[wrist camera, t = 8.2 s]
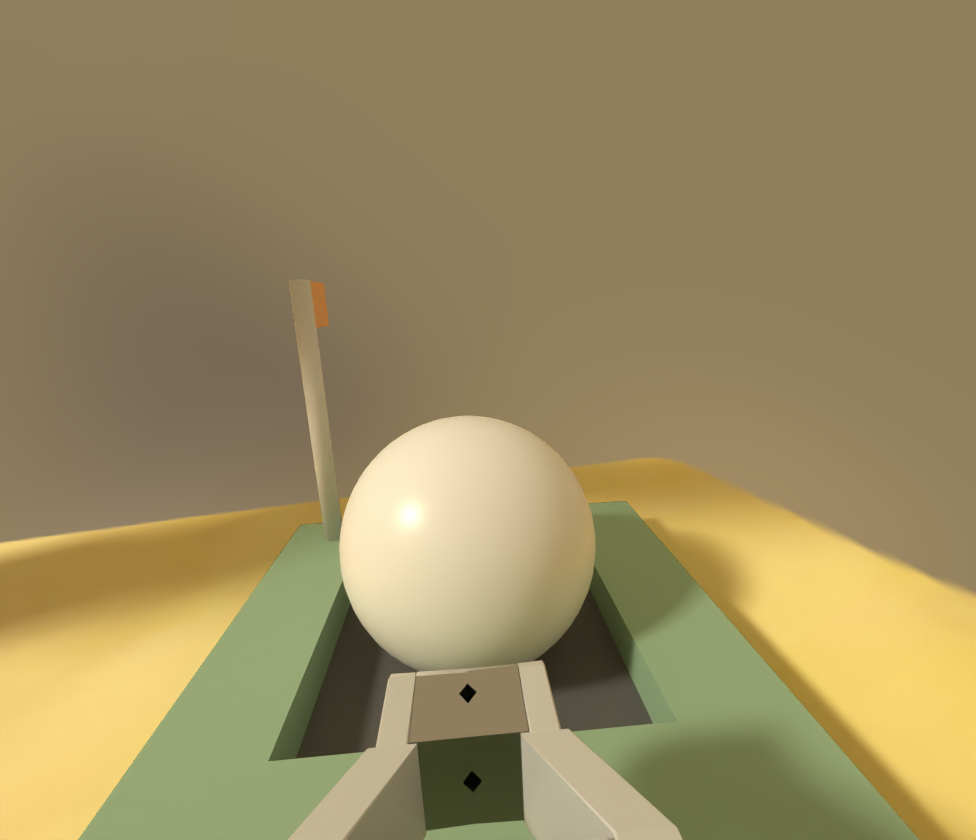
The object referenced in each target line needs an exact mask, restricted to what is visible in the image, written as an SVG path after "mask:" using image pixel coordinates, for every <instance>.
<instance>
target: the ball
mask: <svg viewBox="0 0 976 840" xmlns="http://www.w3.org/2000/svg"><path fill="white" fill-rule="evenodd" d="M339 552H340V565H341V574H342V578H343V583H344V587H345V590H346V592H347V595H348V598H349V600H350V603H351V605H352V608H353V610H354V612H355V614H356V615H357V617H358V619H359V620H360V622H361V624H362V625H363V626H364V628H365V629H366V630H367V631H368V633H369V634H370V635H371V636H372V637H373V639H374V640H375V641H376V642H377V643H378V644H379V645H380V646H381V647H382V648H383V649H384V650H386V651H387V652H388V653H389V654H390V655H392V656H393V657H395V658H396V659H398V660H399V661H401V662H403V663H404V664H406V665H408V666H409V667H412V668H414V669H416V670H418V671H437V670H452V669H468V668H478V667H489V666H499V665H509V664H517V663H523V662H532V661H534V660H535V659H537V658H538V657H540V656H541V655H543V654H544V653H545V652H546V651H547V650H548V649H549V648H551V647H552V646H553V645H554V644H555V643H556V642H557V641H558V640H559V639H560V638H561V637H562V636H563V634H564V633H565V632H566V631H567V630H568V628H569V627H570V626H571V624H572V623H573V621H574V620H575V618H576V616H577V615H578V613H579V611H580V609H581V607H582V605H583V602H584V600H585V598H586V595H587V593H588V591H589V587H590V584H591V580H592V576H593V570H594V562H595V553H596V544H595V530H594V524H593V518H592V513H591V510H590V507H589V504H588V501H587V498H586V496H585V493H584V491H583V489H582V487H581V485H580V483H579V481H578V479H577V477H576V476H575V475H574V473H573V472H572V470H571V469H570V467H569V466H568V465H567V463H566V462H565V461H564V460H563V459H562V457H561V456H560V455H559V454H558V453H557V452H556V451H555V450H554V449H553V448H551V447H550V446H549V445H548V444H547V443H545V442H544V441H543V440H541V439H540V438H539V437H537V436H536V435H534V434H533V433H531V432H529V431H527V430H525V429H523V428H521V427H519V426H516V425H514V424H511V423H508V422H505V421H502V420H498V419H494V418H488V417H482V416H456V417H448V418H443V419H439V420H435V421H432V422H429V423H426V424H423V425H421V426H419V427H416V428H414V429H412V430H411V431H409V432H407V433H405V434H403V435H402V436H400V437H399V438H397V439H396V440H394V441H393V442H391V443H390V444H389V445H388V446H387V447H385V448H384V449H383V450H382V451H381V452H380V453H379V454H378V455H377V456H376V457H375V458H374V459H373V461H372V462H371V463H370V464H369V465H368V467H367V468H366V469H365V471H364V472H363V473H362V475H361V476H360V478H359V480H358V482H357V483H356V485H355V487H354V489H353V491H352V493H351V496H350V498H349V501H348V503H347V506H346V508H345V512H344V516H343V521H342V526H341V532H340V543H339Z"/></svg>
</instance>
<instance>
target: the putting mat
mask: <svg viewBox="0 0 976 840" xmlns="http://www.w3.org/2000/svg"><path fill="white" fill-rule="evenodd" d="M289 287H290V294H291V300H292V309H293V316H294V323H295V330H296V337H297V344H298V350H299V358H300V365H301V372H302V378H303V386H304V393H305V400H306V408H307V415H308V421H309V429H310V436H311V442H312V450H313V457H314V464H315V471H316V478H317V485H318V492H319V499H320V507H321V514H322V521H323V523H317V524H304V525H300V526H299V527H298V529H297V530H296V532H295V533H294V535H293V536H292V537H291V539H290V540H289V542H288V543H287V544H286V546H285V547H284V549H283V550H282V552H281V553H280V554H279V556H278V557H277V559H276V560H275V562H274V563H273V564H272V566H271V567H270V569H269V570H268V571H267V573H266V574H265V576H264V577H263V579H262V580H261V581H260V583H259V584H258V586H257V587H256V588H255V590H254V591H253V593H252V594H251V596H250V597H249V598H248V600H247V601H246V603H245V604H244V605H243V607H242V608H241V610H240V611H239V613H238V614H237V615H236V617H235V618H234V620H233V621H232V622H231V624H230V625H229V627H228V628H227V630H226V631H225V632H224V634H223V635H222V637H221V638H220V639H219V641H218V642H217V644H216V645H215V647H214V648H213V649H212V651H211V652H210V654H209V655H208V656H207V658H206V659H205V661H204V662H203V664H202V665H201V666H200V668H199V669H198V671H197V672H196V674H195V675H194V676H193V678H192V679H191V681H190V682H189V683H188V685H187V686H186V688H185V689H184V691H183V692H182V693H181V695H180V696H179V698H178V699H177V700H176V702H175V703H174V705H173V706H172V708H171V709H170V710H169V712H168V713H167V715H166V716H165V717H164V719H163V720H162V722H161V723H160V725H159V726H158V727H157V729H156V730H155V732H154V733H153V734H152V736H151V737H150V739H149V740H148V742H147V743H146V744H145V746H144V747H143V749H142V750H141V751H140V753H139V754H138V756H137V757H136V759H135V760H134V761H133V763H132V764H131V766H130V767H129V768H128V770H127V771H126V773H125V774H124V776H123V777H122V778H121V780H120V781H119V783H118V784H117V785H116V787H115V788H114V790H113V791H112V793H111V794H110V795H109V797H108V798H107V800H106V801H105V803H104V804H103V805H102V807H101V808H100V810H99V811H98V812H97V814H96V815H95V817H94V818H93V820H92V821H91V822H90V824H89V825H88V827H87V828H86V829H85V831H84V832H83V834H82V835H81V837H80V838H79V839H78V840H288V839H289V838H290V836H291V835H292V834H293V833H294V832H295V831H296V830H297V828H298V827H299V826H300V825H301V824H302V823H303V822H304V820H305V819H306V818H307V817H308V816H309V815H310V814H311V812H312V811H313V810H314V809H315V808H316V807H317V806H318V804H319V803H320V802H321V801H322V800H323V799H324V798H325V796H326V795H327V794H328V793H329V792H330V791H331V790H332V788H333V787H334V786H335V785H336V784H337V783H338V782H339V780H340V779H341V778H342V777H343V776H344V775H345V774H346V772H347V771H348V770H349V769H350V768H351V767H352V766H353V764H354V763H355V762H356V761H357V760H358V759H359V758H360V756H361V755H362V754H363V753H364V752H365V751H366V750H367V749H368V748H376V743H377V738H378V732H379V727H380V721H381V716H382V710H383V705H384V699H385V694H386V688H387V682H388V679H389V677H390V675H391V674H398V673H413V672H415V673H417V672H421V671H418V670H416V669H414V668H412V667H409V666H408V665H406V664H404V663H403V662H401V661H399V660H398V659H396V658H395V657H393V656H392V655H390V654H389V653H388V652H387V651H386V650H384V649H383V648H382V647H381V646H380V645H379V644H378V643H377V642H376V641H375V640H374V639H373V637H372V636H371V635H370V634H369V633H368V631H367V630H366V629H365V628H364V626H363V625H362V624H361V622H360V620H359V619H358V617H357V615H356V614H355V612H354V610H353V608H352V605H351V603H350V600H349V598H348V595H347V592H346V590H345V587H344V583H343V578H342V574H341V565H340V552H339V543H340V532H341V526H342V520H341V513H340V505H339V498H338V490H337V482H336V475H335V467H334V460H333V452H332V445H331V437H330V429H329V422H328V414H327V406H326V399H325V391H324V383H323V376H322V368H321V361H320V353H319V345H318V338H317V330H316V328H317V327H323V326H328V325H329V322H328V314H327V306H326V298H325V291H324V284H323V283H318V282H311V281H310V280H306V279H303V280H302V279H300V280H289ZM589 507H590V510H591V513H592V518H593V524H594V530H595V544H596V553H595V562H594V570H593V576H592V580H591V584H590V587H589V591H588V593H587V595H586V598H585V600H584V602H583V605H582V607H581V609H580V611H579V613H578V615H577V616H576V618H575V620H574V621H573V623H572V624H571V626H570V627H569V628H568V630H567V631H566V632H565V633H564V634H563V636H562V637H561V638H560V639H559V640H558V641H557V642H556V643H555V644H554V645H553V646H552V647H551V648H549V649H548V650H547V651H546V652H545V653H544V654H543V655H541V656H540V657H538V658H537V659H535V660H534V661H541V660H542V661H543V663H544V664H545V668H546V672H547V676H548V680H549V684H550V688H551V691H552V695H553V699H554V703H555V707H556V711H557V715H558V719H559V723H560V727H561V729H570V730H571V731H572V732H573V733H574V734H575V735H576V736H577V737H579V738H580V739H581V740H582V741H583V742H584V743H585V744H586V745H587V746H588V747H589V748H591V749H592V750H593V751H594V752H595V753H596V754H597V755H598V756H599V757H600V758H602V759H603V760H604V761H605V762H606V763H607V764H608V765H609V766H610V767H611V768H612V769H614V770H615V771H616V772H617V773H618V774H619V775H620V776H621V777H622V778H623V779H625V780H626V781H627V782H628V783H629V784H630V785H631V786H632V787H633V788H634V789H635V790H637V791H638V792H639V793H640V794H641V795H642V796H643V797H644V798H645V799H646V800H648V801H649V802H650V803H651V804H652V805H653V806H654V807H655V808H656V809H657V810H659V811H660V812H661V813H662V814H663V815H664V816H665V817H666V818H667V819H668V820H669V821H671V822H672V823H673V824H674V825H675V826H676V827H677V828H678V831H679V833H680V835H681V838H682V840H919V839H918V837H917V836H916V835H915V834H914V833H913V832H912V830H911V829H910V828H909V827H908V826H907V825H906V824H905V822H904V821H903V820H902V819H901V818H900V817H899V815H898V814H897V813H896V812H895V811H894V810H893V809H892V807H891V806H890V805H889V804H888V803H887V802H886V800H885V799H884V798H883V797H882V796H881V795H880V794H879V792H878V791H877V790H876V789H875V788H874V787H873V785H872V784H871V783H870V782H869V781H868V780H867V779H866V777H865V776H864V775H863V774H862V773H861V772H860V770H859V769H858V768H857V767H856V766H855V765H854V764H853V762H852V761H851V760H850V759H849V758H848V757H847V755H846V754H845V753H844V752H843V751H842V750H841V749H840V747H839V746H838V745H837V744H836V743H835V742H834V740H833V739H832V738H831V737H830V736H829V735H828V734H827V732H826V731H825V730H824V729H823V728H822V727H821V725H820V724H819V723H818V722H817V721H816V720H815V719H814V717H813V716H812V715H811V714H810V713H809V712H808V710H807V709H806V708H805V707H804V706H803V705H802V704H801V702H800V701H799V700H798V699H797V698H796V697H795V695H794V694H793V693H792V692H791V691H790V690H789V689H788V687H787V686H786V685H785V684H784V683H783V682H782V680H781V679H780V678H779V677H778V676H777V675H776V674H775V672H774V671H773V670H772V669H771V668H770V667H769V665H768V664H767V663H766V662H765V661H764V660H763V659H762V657H761V656H760V655H759V654H758V653H757V652H756V650H755V649H754V648H753V647H752V646H751V645H750V644H749V642H748V641H747V640H746V639H745V638H744V637H743V635H742V634H741V633H740V632H739V631H738V630H737V629H736V627H735V626H734V625H733V624H732V623H731V622H730V620H729V619H728V618H727V617H726V616H725V615H724V614H723V612H722V611H721V610H720V609H719V608H718V607H717V605H716V604H715V603H714V602H713V601H712V600H711V599H710V597H709V596H708V595H707V594H706V593H705V592H704V590H703V589H702V588H701V587H700V586H699V585H698V584H697V582H696V581H695V580H694V579H693V578H692V577H691V575H690V574H689V573H688V572H687V571H686V570H685V569H684V567H683V566H682V565H681V564H680V563H679V562H678V560H677V559H676V558H675V557H674V556H673V555H672V554H671V552H670V551H669V550H668V549H667V548H666V547H665V545H664V544H663V543H662V542H661V541H660V540H659V539H658V537H657V536H656V535H655V534H654V533H653V532H652V530H651V529H650V528H649V527H648V526H647V525H646V524H645V522H644V521H643V520H642V519H641V518H640V517H639V515H638V514H637V513H636V512H635V511H634V510H633V509H632V507H631V506H630V505H629V504H628V503H627V502H626V501H617V502H603V503H589ZM424 840H536V839H535V838H534V836H533V835H532V833H531V832H530V831H529V829H528V828H527V826H526V825H525V823H524V820H522V821H508V822H495V823H481V824H476V823H475V824H471V825H464V826H457V827H450V828H443V829H435V830H428V831H426V836H425V838H424Z"/></svg>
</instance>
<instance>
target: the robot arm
mask: <svg viewBox="0 0 976 840" xmlns="http://www.w3.org/2000/svg"><path fill="white" fill-rule="evenodd" d="M522 820H524V823H525V825H526V826H527V828H528V829H529V831H530V832H531V833H532V835H533V836H534V838H535V839H536V840H682V838H681V835H680V833H679V831H678V828H677V827H676V826H675V825H674V824H673V823H672V822H671V821H669V820H668V819H667V818H666V817H665V816H664V815H663V814H662V813H661V812H660V811H659V810H657V809H656V808H655V807H654V806H653V805H652V804H651V803H650V802H649V801H648V800H646V799H645V798H644V797H643V796H642V795H641V794H640V793H639V792H638V791H637V790H635V789H634V788H633V787H632V786H631V785H630V784H629V783H628V782H627V781H626V780H625V779H623V778H622V777H621V776H620V775H619V774H618V773H617V772H616V771H615V770H614V769H612V768H611V767H610V766H609V765H608V764H607V763H606V762H605V761H604V760H603V759H602V758H600V757H599V756H598V755H597V754H596V753H595V752H594V751H593V750H592V749H591V748H589V747H588V746H587V745H586V744H585V743H584V742H583V741H582V740H581V739H580V738H579V737H577V736H576V735H575V734H574V733H573V732H572V731H571V730H570V729H561V727H560V723H559V719H558V715H557V711H556V707H555V703H554V699H553V695H552V691H551V688H550V684H549V680H548V676H547V672H546V668H545V664H544V663H543V661H542V660H541V661H532V662H523V663H517V664H509V665H499V666H489V667H478V668H468V669H452V670H437V671H421V672H417V673H415V672H413V673H398V674H391V675H390V677H389V679H388V682H387V688H386V694H385V699H384V705H383V710H382V716H381V721H380V727H379V732H378V738H377V743H376V748H368V749H367V750H366V751H365V752H364V753H363V754H362V755H361V756H360V758H359V759H358V760H357V761H356V762H355V763H354V764H353V766H352V767H351V768H350V769H349V770H348V771H347V772H346V774H345V775H344V776H343V777H342V778H341V779H340V780H339V782H338V783H337V784H336V785H335V786H334V787H333V788H332V790H331V791H330V792H329V793H328V794H327V795H326V796H325V798H324V799H323V800H322V801H321V802H320V803H319V804H318V806H317V807H316V808H315V809H314V810H313V811H312V812H311V814H310V815H309V816H308V817H307V818H306V819H305V820H304V822H303V823H302V824H301V825H300V826H299V827H298V828H297V830H296V831H295V832H294V833H293V834H292V835H291V836H290V838H289V839H288V840H424V838H425V836H426V831H428V830H435V829H443V828H450V827H457V826H464V825H471V824H475V823H476V824H481V823H495V822H508V821H522Z"/></svg>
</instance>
